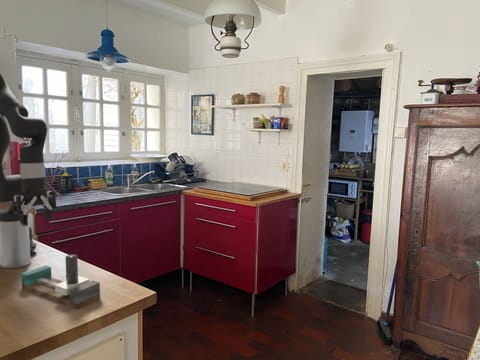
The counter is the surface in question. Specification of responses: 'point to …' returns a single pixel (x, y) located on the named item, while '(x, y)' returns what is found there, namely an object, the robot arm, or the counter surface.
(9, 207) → the robot arm
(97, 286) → the rail
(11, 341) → the counter surface
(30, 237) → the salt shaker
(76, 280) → the carriage
